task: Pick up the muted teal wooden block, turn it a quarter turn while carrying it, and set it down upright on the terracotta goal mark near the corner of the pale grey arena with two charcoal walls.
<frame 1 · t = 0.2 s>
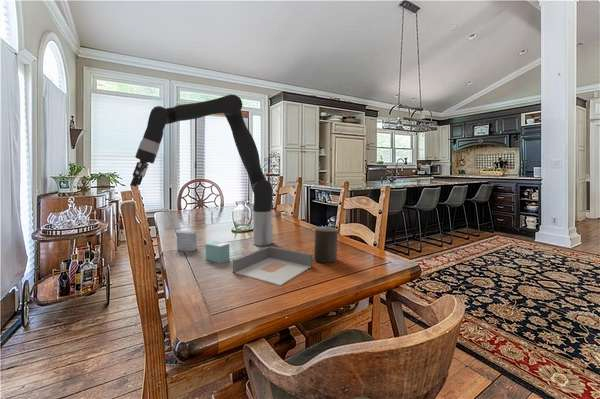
hand: (135, 185, 123), 31 cm above the table, tool tilted 20°, fingers open, 8 cm apart
arena: (273, 269, 109), on the table
medicine box: (187, 250, 133), on the table
pillar candle: (325, 260, 121), on the table
teal block: (217, 259, 120), on the table
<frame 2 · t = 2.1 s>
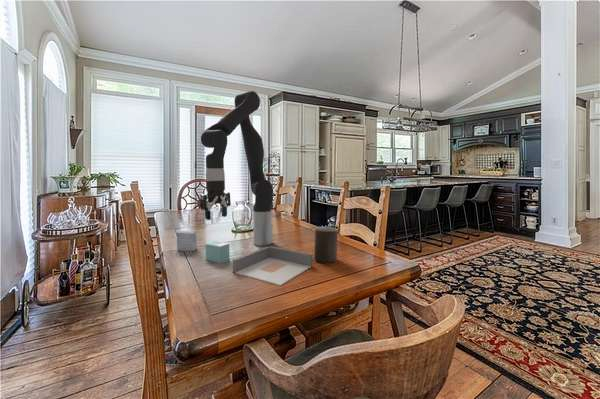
hand: (216, 218, 118), 18 cm above the table, tool pointing down, fingers open, 8 cm apart
nothing on the table moved.
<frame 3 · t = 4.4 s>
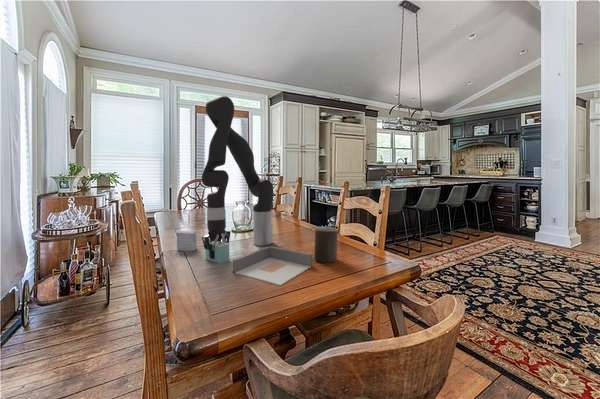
hand: (217, 256, 120), 1 cm above the table, tool pointing down, fingers closed on teal block, 5 cm apart
teal block: (217, 259, 120), on the table, touching gripper
everything else where it was.
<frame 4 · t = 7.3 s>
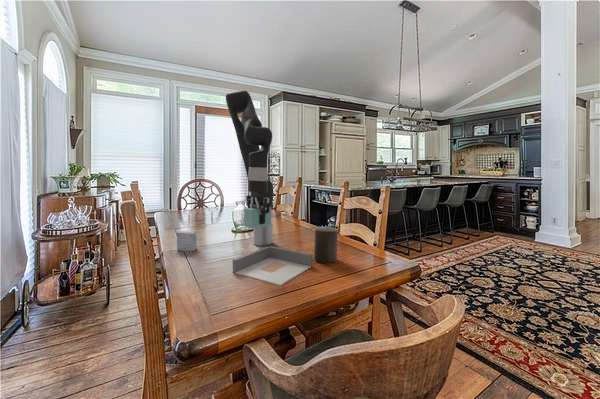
hand: (258, 222, 110), 18 cm above the table, tool pointing down, fingers closed on teal block, 5 cm apart
teal block: (257, 225, 110), point 16 cm above the table, touching gripper
everything else where it was.
when the fingers open (3 cm above the table, at t = 10.3 s): teal block drops 1 cm, resting on arena.
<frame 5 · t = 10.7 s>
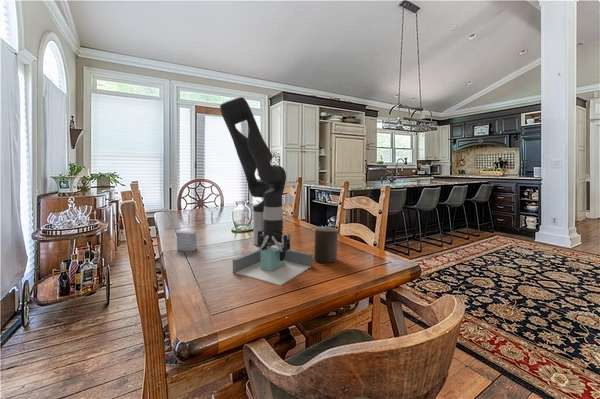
hand: (273, 258, 110), 4 cm above the table, tool pointing down, fingers open, 8 cm apart
teal block: (272, 266, 110), resting on arena
everything else where it was.
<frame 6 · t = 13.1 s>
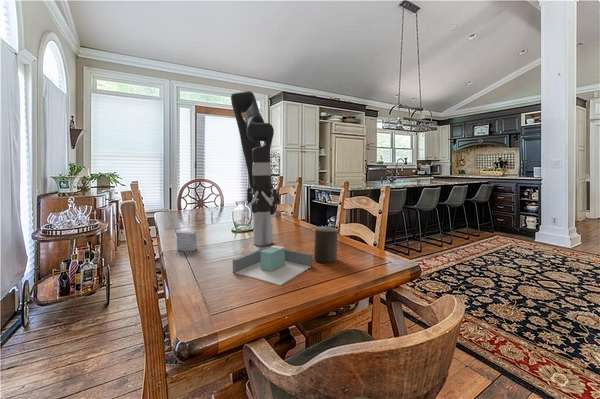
hand: (263, 213, 114), 21 cm above the table, tool pointing down, fingers open, 8 cm apart
nothing on the table moved.
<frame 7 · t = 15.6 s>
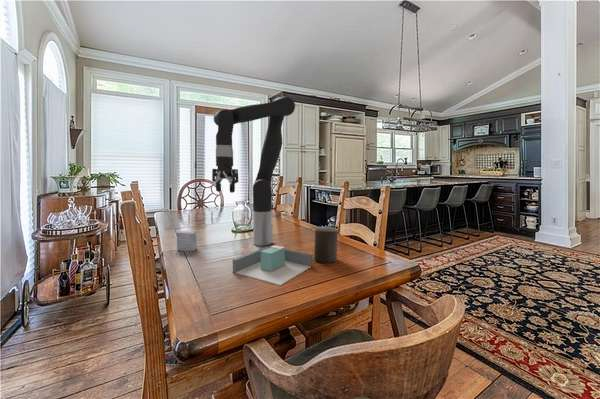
hand: (225, 191, 128), 28 cm above the table, tool pointing down, fingers open, 8 cm apart
nothing on the table moved.
at the end: teal block 0.2 cm from the target spot on the arena, point 0.5 cm above the arena's base; teal block tilted 0°; the gripper is holding nothing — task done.
